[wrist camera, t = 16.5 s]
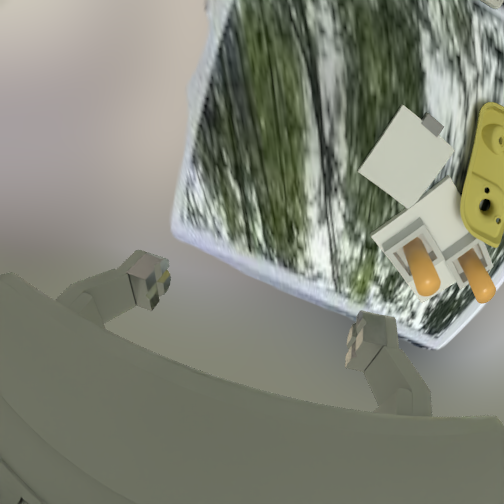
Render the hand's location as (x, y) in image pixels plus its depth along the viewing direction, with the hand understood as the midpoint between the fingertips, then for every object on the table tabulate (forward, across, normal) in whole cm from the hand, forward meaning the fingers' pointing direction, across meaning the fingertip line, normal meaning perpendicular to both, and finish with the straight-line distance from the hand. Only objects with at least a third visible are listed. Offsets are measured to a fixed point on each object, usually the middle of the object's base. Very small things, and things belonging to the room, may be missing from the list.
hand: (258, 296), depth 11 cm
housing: (+31, -23, +10) cm, 40 cm away
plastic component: (+32, -28, -6) cm, 42 cm away
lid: (+31, -13, -2) cm, 34 cm away
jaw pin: (+30, -19, +11) cm, 37 cm away
